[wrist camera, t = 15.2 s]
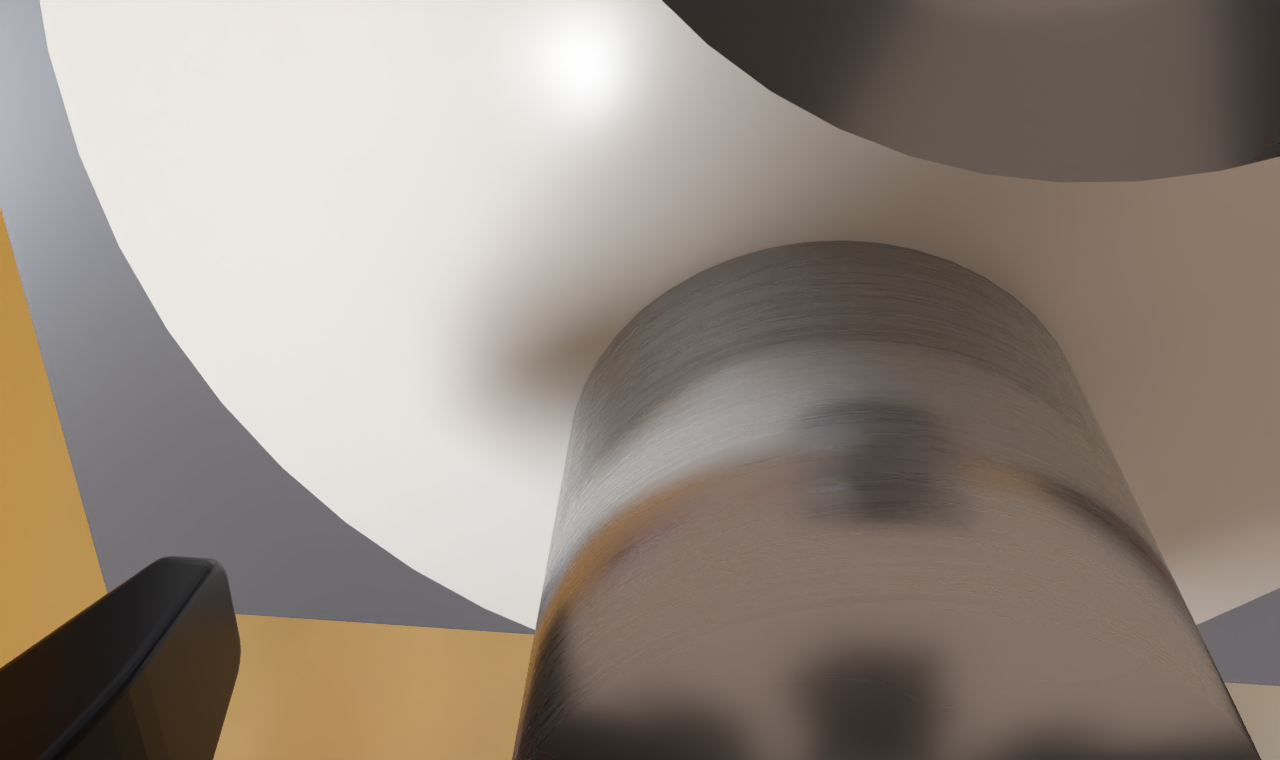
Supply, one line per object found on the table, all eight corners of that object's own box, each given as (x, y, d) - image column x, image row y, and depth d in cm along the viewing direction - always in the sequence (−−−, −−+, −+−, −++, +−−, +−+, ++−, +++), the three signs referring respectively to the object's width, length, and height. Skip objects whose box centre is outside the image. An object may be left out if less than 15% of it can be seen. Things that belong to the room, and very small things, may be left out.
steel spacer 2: (841, 718, 12) (892, 1155, 8) (472, 499, 10) (358, 911, 7) (1200, 440, 10) (1456, 870, 6) (796, 129, 8) (849, 458, 5)
